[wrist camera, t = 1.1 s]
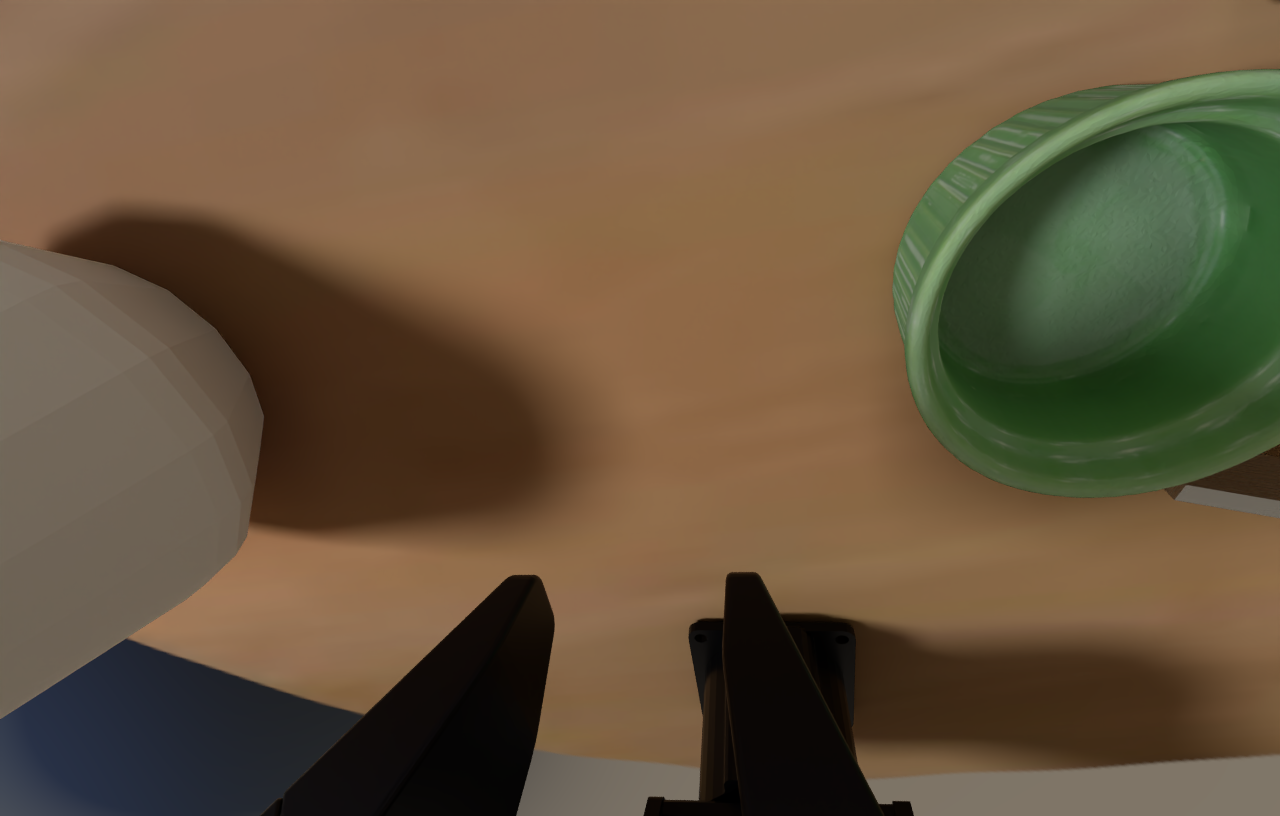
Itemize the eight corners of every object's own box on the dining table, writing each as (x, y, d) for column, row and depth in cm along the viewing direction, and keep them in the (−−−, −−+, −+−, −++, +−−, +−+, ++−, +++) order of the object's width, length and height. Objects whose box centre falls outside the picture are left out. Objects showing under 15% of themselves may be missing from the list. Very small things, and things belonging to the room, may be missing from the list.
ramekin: (800, 283, 17) (819, 351, 13) (1110, -39, 12) (1270, -75, 9) (1011, 456, 19) (1079, 558, 15) (1344, 230, 14) (1556, 295, 11)
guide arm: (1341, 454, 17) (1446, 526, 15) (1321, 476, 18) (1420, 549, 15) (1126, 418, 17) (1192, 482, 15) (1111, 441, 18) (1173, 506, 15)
